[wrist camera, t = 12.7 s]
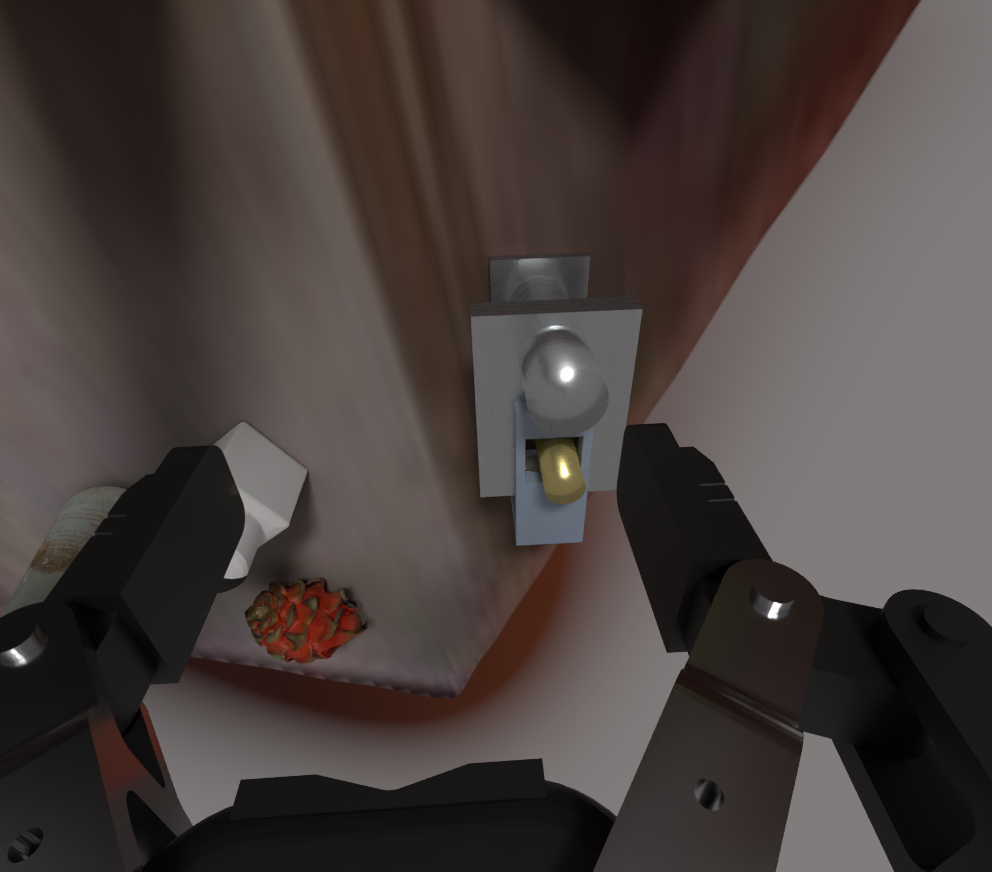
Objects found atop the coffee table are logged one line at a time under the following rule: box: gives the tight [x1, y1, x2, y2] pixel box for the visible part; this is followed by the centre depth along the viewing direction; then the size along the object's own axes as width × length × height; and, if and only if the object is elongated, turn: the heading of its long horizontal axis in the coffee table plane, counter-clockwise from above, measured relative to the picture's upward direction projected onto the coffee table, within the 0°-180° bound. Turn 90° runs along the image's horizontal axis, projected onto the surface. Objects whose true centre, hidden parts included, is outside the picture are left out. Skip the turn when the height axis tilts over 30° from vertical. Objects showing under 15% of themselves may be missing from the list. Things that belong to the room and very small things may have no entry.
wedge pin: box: [535, 437, 586, 504], centre depth 40 cm, size 3×3×13 cm
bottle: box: [0, 486, 127, 618], centre depth 40 cm, size 9×9×28 cm
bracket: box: [511, 402, 594, 546], centre depth 42 cm, size 5×12×10 cm, turn 1°
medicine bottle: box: [213, 422, 307, 593], centre depth 44 cm, size 7×7×12 cm
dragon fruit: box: [244, 578, 368, 664], centre depth 56 cm, size 8×8×12 cm
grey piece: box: [470, 253, 642, 497], centre depth 38 cm, size 10×14×14 cm
